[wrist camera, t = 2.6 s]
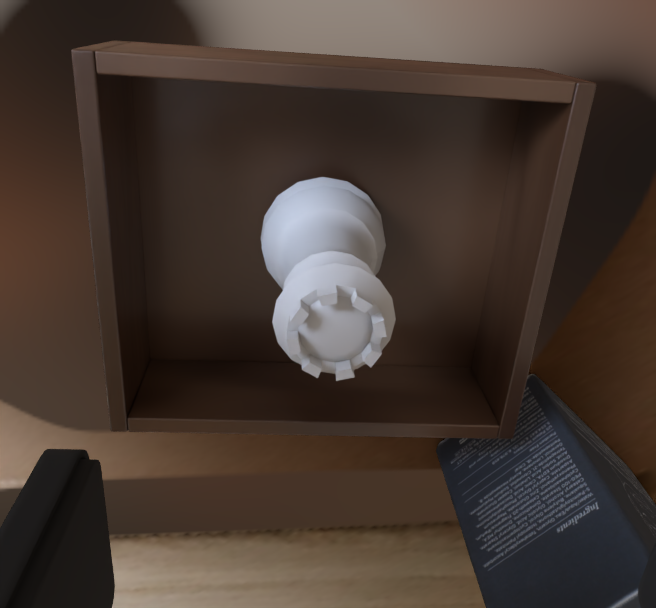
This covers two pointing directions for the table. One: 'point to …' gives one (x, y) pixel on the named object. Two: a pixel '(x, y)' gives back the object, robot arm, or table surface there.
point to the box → (550, 511)
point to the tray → (304, 164)
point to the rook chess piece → (328, 276)
